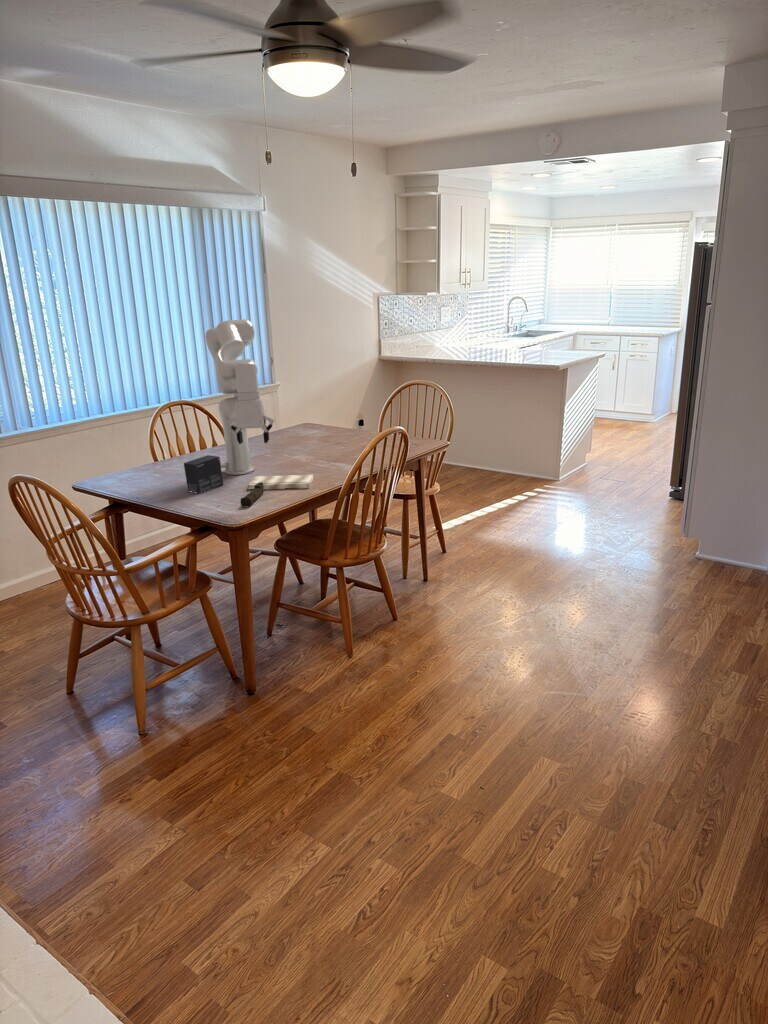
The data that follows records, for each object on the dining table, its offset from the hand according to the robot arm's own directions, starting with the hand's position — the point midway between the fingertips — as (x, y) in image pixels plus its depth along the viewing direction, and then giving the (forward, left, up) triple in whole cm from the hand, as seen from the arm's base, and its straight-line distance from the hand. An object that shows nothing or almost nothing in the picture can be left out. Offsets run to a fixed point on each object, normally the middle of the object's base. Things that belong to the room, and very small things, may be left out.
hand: (253, 442), depth 261 cm
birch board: (+6, +15, -21) cm, 26 cm away
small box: (-24, +13, -21) cm, 34 cm away
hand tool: (-2, -3, -21) cm, 22 cm away
